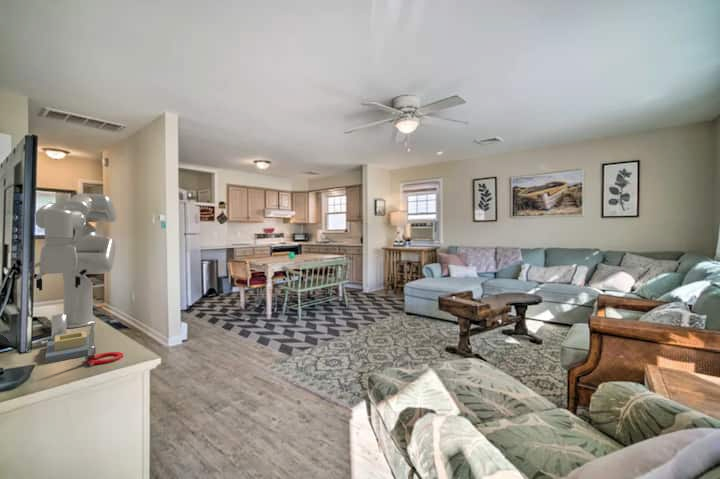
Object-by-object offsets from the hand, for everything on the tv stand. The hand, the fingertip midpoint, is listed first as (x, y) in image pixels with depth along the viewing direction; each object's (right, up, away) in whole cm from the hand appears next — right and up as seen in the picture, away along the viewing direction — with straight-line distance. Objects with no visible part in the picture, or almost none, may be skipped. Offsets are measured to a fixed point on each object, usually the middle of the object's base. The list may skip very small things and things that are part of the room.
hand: (59, 288), depth 115 cm
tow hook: (+29, -21, -14) cm, 39 cm away
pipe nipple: (0, -20, 0) cm, 20 cm away
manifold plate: (+11, -20, -8) cm, 25 cm away
